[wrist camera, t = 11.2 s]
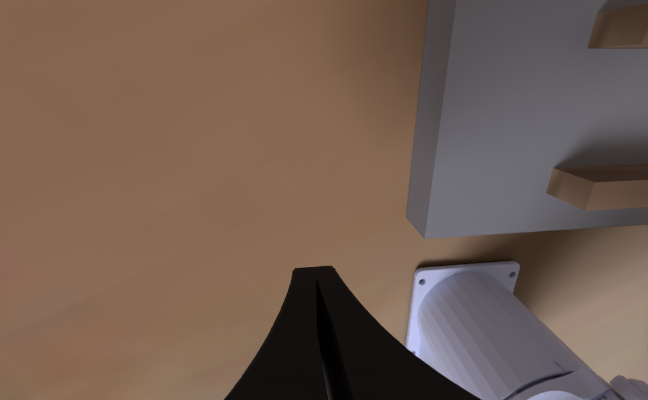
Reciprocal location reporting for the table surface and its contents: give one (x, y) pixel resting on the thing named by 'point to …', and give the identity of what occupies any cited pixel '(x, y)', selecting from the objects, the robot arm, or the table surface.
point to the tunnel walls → (621, 180)
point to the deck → (521, 116)
